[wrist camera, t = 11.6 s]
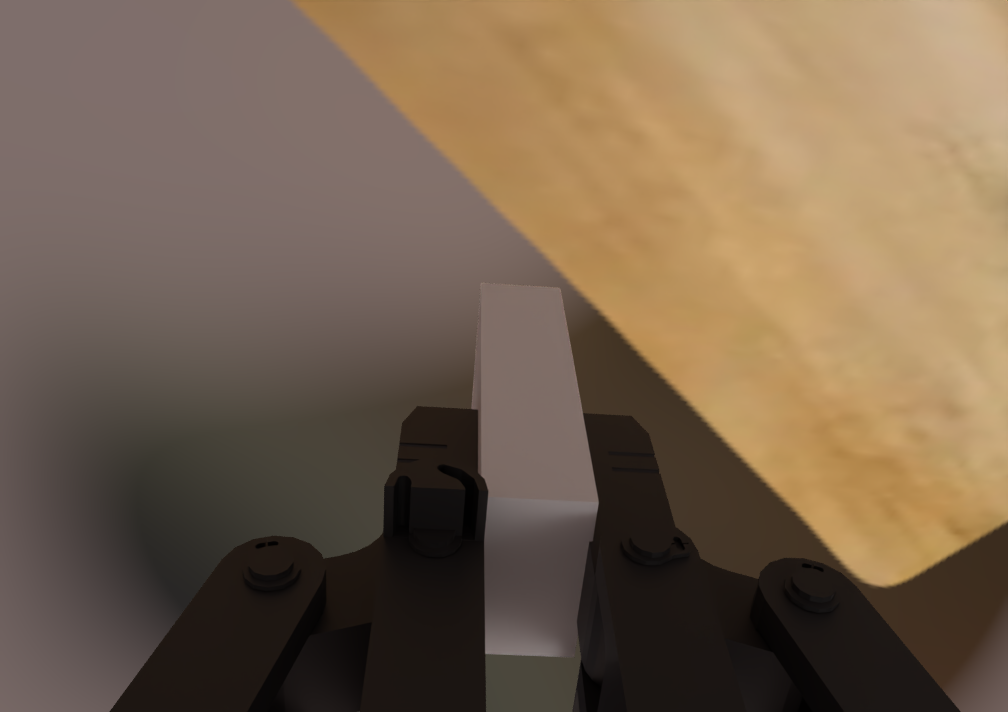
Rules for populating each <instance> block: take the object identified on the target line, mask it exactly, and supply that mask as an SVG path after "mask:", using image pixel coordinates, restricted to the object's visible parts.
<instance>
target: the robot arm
mask: <svg viewBox="0 0 1008 712" xmlns="http://www.w3.org/2000/svg"><path fill="white" fill-rule="evenodd" d="M654 455H655V454H654V450H653V446H652V443H651V439H650V436H649V434H648V433H647V431H646V430H644V428H642V426H640V424H639V423H638V422H637V421H636V420H635V419H634V418H633V417H632V416H623V415H622V416H621V415H604V414H585V413H583V412H582V406H581V401H580V396H579V390H578V384H577V378H576V373H575V368H574V362H573V357H572V351H571V346H570V340H569V334H568V329H567V323H566V317H565V312H564V307H563V301H562V295H561V290H560V288H555V287H539V286H524V285H509V284H493V283H481V289H480V301H479V315H478V328H477V342H476V355H475V369H474V384H473V396H472V409H458V408H440V407H421V406H417V407H416V408H415V409H414V411H413V412H412V413H411V414H410V415H409V416H408V417H407V418H406V419H405V420H404V421H403V423H402V429H401V436H400V445H399V452H398V460H397V466H396V470H395V471H394V472H392V473H391V474H390V475H389V478H388V480H387V482H386V484H385V486H384V487H385V488H384V491H385V492H384V530H383V533H382V535H381V536H380V537H379V538H378V539H377V540H375V541H374V542H373V543H372V544H371V545H369V546H367V547H365V548H362V549H360V550H358V551H356V552H352V553H349V554H345V555H341V556H337V557H331V558H325V559H323V557H322V554H321V553H320V552H319V551H318V550H317V549H315V548H314V547H313V546H312V545H311V544H310V543H307V542H304V541H302V540H299V539H296V538H294V537H282V536H270V537H264V538H258V539H253V540H251V541H248V542H246V543H244V544H242V545H240V546H237V547H235V548H234V549H233V550H232V551H231V552H230V553H228V554H227V555H226V556H225V557H224V558H223V559H222V560H221V562H220V563H219V564H218V565H217V567H216V568H215V570H214V571H213V572H212V574H211V575H210V576H209V578H208V579H207V580H206V582H205V583H204V584H203V586H202V587H201V588H200V590H199V591H198V593H197V594H196V595H195V597H194V598H193V599H192V601H191V602H190V603H189V605H188V606H187V608H186V609H185V610H184V611H183V613H182V614H181V616H180V617H179V618H178V620H177V621H176V622H175V624H174V625H173V626H172V628H171V629H170V631H169V632H168V633H167V635H166V636H165V637H164V639H163V640H162V641H161V643H160V644H159V645H158V647H157V648H156V649H155V651H154V652H153V654H152V655H151V656H150V658H149V659H148V661H147V662H146V663H145V664H144V666H143V667H142V668H141V670H140V671H139V672H138V674H137V675H136V677H135V678H134V679H133V681H132V682H131V683H130V685H129V686H128V687H127V689H126V690H125V692H124V693H123V694H122V696H121V697H120V698H119V700H118V701H117V702H116V704H115V705H114V706H113V708H112V709H111V711H110V712H357V711H360V712H486V687H485V686H486V680H485V679H486V678H485V654H502V655H527V656H552V657H574V655H575V649H576V643H577V636H579V644H580V652H581V663H580V669H579V675H578V681H577V688H576V693H575V700H574V705H573V712H960V711H959V709H958V708H957V707H956V706H955V705H954V703H953V702H952V701H951V700H950V698H948V696H947V695H946V694H945V692H944V691H943V690H942V689H941V688H940V686H939V685H938V684H937V683H936V682H935V680H934V679H933V678H932V677H931V676H930V675H929V673H928V672H927V671H926V670H925V668H924V667H923V666H922V665H921V664H920V662H919V661H918V660H917V659H916V658H915V657H914V655H913V654H912V653H911V652H910V650H909V649H908V648H907V647H906V646H905V644H903V642H902V641H901V640H900V638H899V637H898V636H897V635H896V634H895V632H894V631H893V630H892V629H891V628H890V626H889V625H888V624H887V623H886V621H885V620H884V619H883V618H882V617H881V616H880V614H879V613H878V612H877V611H876V610H875V608H874V607H873V606H872V605H871V604H870V602H869V601H868V600H867V599H866V598H865V596H864V595H863V594H862V593H861V591H860V590H859V589H858V588H857V587H856V586H855V585H854V584H853V583H852V582H851V581H850V580H849V579H847V578H846V577H845V576H844V575H843V574H842V573H840V572H838V571H836V570H835V569H833V568H831V567H829V566H827V565H825V564H823V563H819V562H815V561H812V560H807V559H804V558H783V559H780V560H777V561H773V562H770V563H769V564H768V565H767V566H766V567H765V568H764V569H763V570H762V571H761V572H760V576H759V579H756V578H753V577H749V576H745V575H742V574H738V573H734V572H731V571H727V570H725V569H722V568H719V567H716V566H713V565H712V564H710V563H708V562H706V561H704V560H702V559H700V556H699V552H698V550H697V549H696V547H695V545H694V543H693V542H692V540H691V539H690V538H689V537H688V536H687V535H685V534H684V533H683V532H682V531H680V530H679V529H678V528H676V527H675V524H674V520H673V516H672V513H671V509H670V506H669V502H668V499H667V496H666V492H665V488H664V485H663V481H662V478H661V474H659V468H658V464H657V460H656V458H655V457H654Z"/></svg>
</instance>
